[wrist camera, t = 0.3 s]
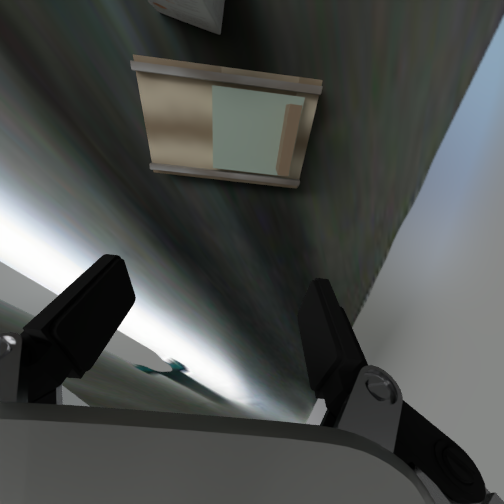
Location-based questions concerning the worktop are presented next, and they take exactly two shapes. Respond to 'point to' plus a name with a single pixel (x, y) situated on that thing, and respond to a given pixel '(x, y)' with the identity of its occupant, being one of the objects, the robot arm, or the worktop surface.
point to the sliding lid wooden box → (209, 115)
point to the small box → (194, 12)
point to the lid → (254, 130)
